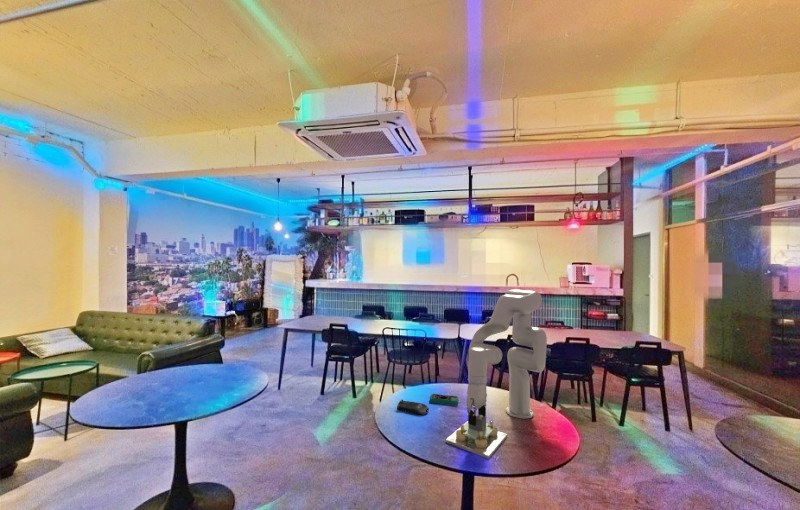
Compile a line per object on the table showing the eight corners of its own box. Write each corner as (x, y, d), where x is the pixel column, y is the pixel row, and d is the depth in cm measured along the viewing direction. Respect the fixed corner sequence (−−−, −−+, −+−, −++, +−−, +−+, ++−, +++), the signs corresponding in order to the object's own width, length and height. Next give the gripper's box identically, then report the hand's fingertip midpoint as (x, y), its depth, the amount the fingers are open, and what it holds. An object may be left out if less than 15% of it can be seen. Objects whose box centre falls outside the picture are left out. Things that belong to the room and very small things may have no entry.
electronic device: (396, 415, 159) (426, 416, 154) (395, 403, 160) (425, 403, 155) (402, 410, 168) (431, 410, 163) (401, 398, 169) (430, 398, 164)
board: (471, 420, 144) (471, 406, 144) (496, 427, 137) (496, 413, 137) (457, 432, 133) (457, 418, 133) (483, 442, 126) (483, 426, 126)
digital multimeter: (430, 398, 177) (430, 392, 177) (458, 401, 174) (458, 395, 174) (428, 403, 170) (429, 398, 170) (457, 407, 167) (457, 401, 167)
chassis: (467, 423, 148) (467, 408, 148) (507, 436, 137) (507, 420, 138) (445, 442, 132) (445, 425, 132) (488, 458, 121) (488, 440, 122)
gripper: (477, 371, 145) (477, 410, 144) (459, 381, 131) (459, 425, 130) (494, 374, 140) (493, 415, 140) (477, 386, 126) (476, 431, 126)
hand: (477, 420), depth 135 cm, fingers open, 9 cm apart
